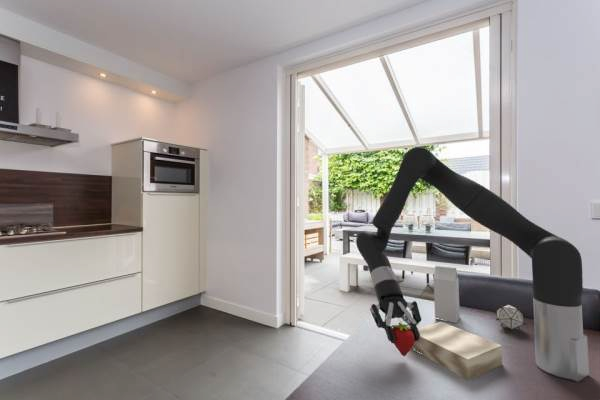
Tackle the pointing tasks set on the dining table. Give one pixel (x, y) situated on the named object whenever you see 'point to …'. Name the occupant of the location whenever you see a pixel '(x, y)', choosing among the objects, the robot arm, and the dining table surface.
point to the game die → (510, 316)
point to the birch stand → (458, 350)
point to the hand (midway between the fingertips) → (405, 340)
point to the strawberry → (403, 338)
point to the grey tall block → (446, 294)
